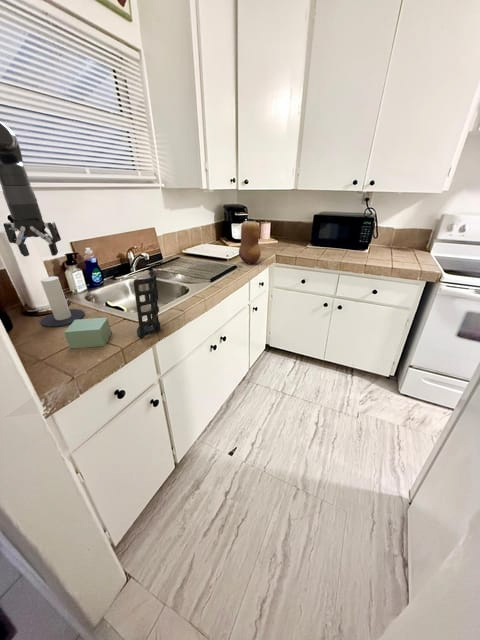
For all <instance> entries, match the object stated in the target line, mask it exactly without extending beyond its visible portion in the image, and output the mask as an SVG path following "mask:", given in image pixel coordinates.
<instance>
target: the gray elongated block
mask: <svg viewBox="0 0 480 640" xmlns="http://www.w3.org/2000/svg"><path fill="white" fill-rule="evenodd" d="M40 283H41V285H42V289H43V291H44V293H45V297H46V299H47V302H48V304H49V307H50V309H51V313H53V315H54V317H55V319H56V320H64V319H67V318H69V317H71V313H70V310H69V309H70V308H69V305H68V302H67V299H66V296H65V293H64V291H63V287H62V284H61V282H60V278H59V276H55V275H54V276H47V277H42V278H41V279H40Z"/></svg>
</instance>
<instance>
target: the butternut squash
mask: <svg viewBox="0 0 480 640" xmlns="http://www.w3.org/2000/svg"><path fill="white" fill-rule="evenodd" d="M260 233H261V227H260V224H259V223H258V222H256V221H252V220H245V221H243V222H242V223H241V226H240V246H239V249H238V255H239V257H240V260H241V261H242V262H244V263H245V264H247V265H252V264H255V263H256V262H258V260H259V259H260V258H261V254H262V253H261V251H262V250H261V248H260V244H259V240H260V236H261V235H260ZM248 263H250V264H248Z"/></svg>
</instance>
